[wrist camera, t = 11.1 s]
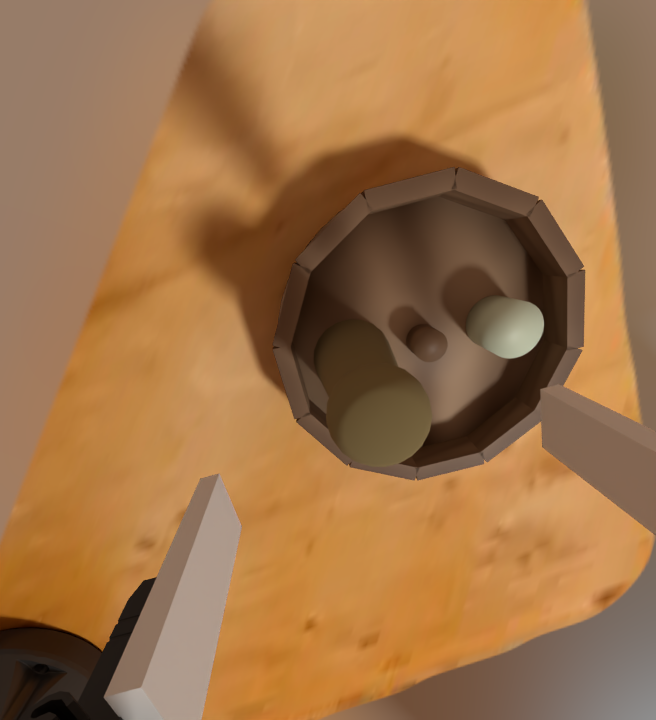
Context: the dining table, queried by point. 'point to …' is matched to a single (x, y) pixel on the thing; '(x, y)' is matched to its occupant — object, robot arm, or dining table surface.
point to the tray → (437, 308)
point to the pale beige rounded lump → (505, 325)
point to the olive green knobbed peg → (370, 396)
